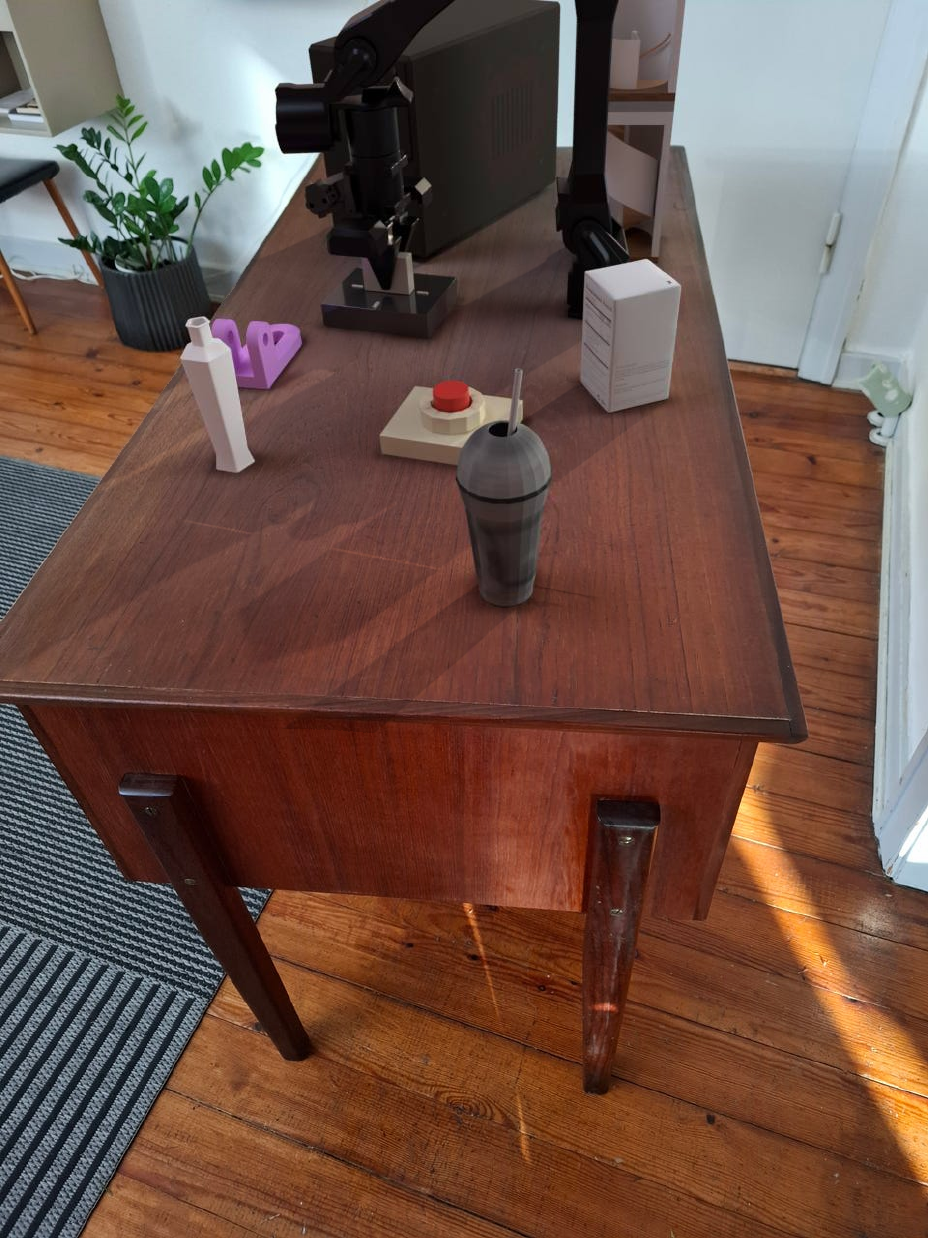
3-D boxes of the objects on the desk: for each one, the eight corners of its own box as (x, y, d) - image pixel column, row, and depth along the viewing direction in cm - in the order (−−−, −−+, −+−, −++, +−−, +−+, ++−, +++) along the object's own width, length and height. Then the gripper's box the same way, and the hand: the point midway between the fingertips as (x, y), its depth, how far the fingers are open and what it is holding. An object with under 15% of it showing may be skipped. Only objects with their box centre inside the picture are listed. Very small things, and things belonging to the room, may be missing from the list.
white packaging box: (638, 368, 100) (649, 256, 91) (669, 400, 95) (684, 284, 86) (577, 382, 99) (582, 269, 90) (606, 414, 94) (614, 298, 85)
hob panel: (458, 299, 115) (456, 275, 113) (428, 338, 108) (426, 313, 106) (359, 289, 119) (356, 265, 117) (324, 326, 112) (319, 302, 109)
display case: (581, 237, 128) (595, -69, 104) (657, 238, 126) (689, -72, 102) (576, 270, 120) (590, -53, 96) (656, 272, 118) (691, -56, 94)
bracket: (268, 389, 101) (255, 331, 96) (222, 385, 102) (208, 328, 97) (308, 335, 110) (298, 280, 105) (266, 332, 111) (254, 277, 106)
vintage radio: (466, 164, 153) (459, -12, 136) (564, 183, 144) (570, -3, 127) (318, 239, 132) (287, 42, 115) (422, 266, 123) (406, 57, 106)
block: (522, 418, 94) (522, 384, 91) (494, 471, 87) (493, 436, 84) (416, 403, 97) (413, 370, 94) (381, 453, 90) (377, 419, 88)
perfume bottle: (266, 452, 92) (232, 312, 81) (245, 476, 89) (207, 334, 78) (227, 446, 93) (189, 307, 82) (205, 469, 90) (163, 329, 79)
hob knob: (414, 288, 111) (411, 250, 108) (409, 294, 110) (405, 256, 107) (370, 284, 113) (365, 246, 109) (364, 290, 111) (359, 252, 108)
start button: (474, 398, 90) (473, 382, 89) (462, 416, 88) (462, 401, 87) (440, 393, 91) (439, 378, 90) (428, 411, 89) (427, 396, 88)
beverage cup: (459, 564, 77) (445, 350, 64) (542, 556, 78) (546, 342, 64) (466, 622, 72) (452, 403, 58) (556, 613, 72) (563, 393, 59)
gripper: (343, 122, 108) (359, 251, 119) (272, 173, 96) (298, 312, 107) (429, 126, 106) (438, 258, 116) (367, 179, 93) (383, 321, 104)
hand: (389, 285), depth 111 cm, fingers closed on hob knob, 2 cm apart
